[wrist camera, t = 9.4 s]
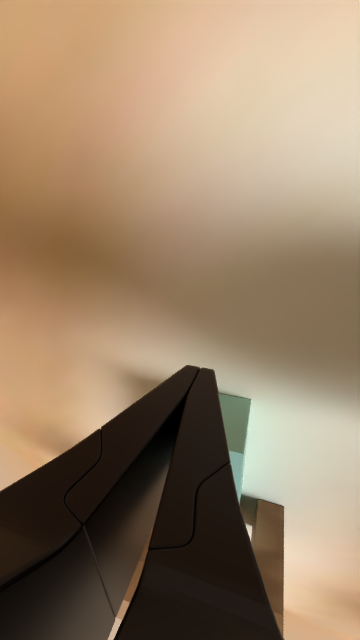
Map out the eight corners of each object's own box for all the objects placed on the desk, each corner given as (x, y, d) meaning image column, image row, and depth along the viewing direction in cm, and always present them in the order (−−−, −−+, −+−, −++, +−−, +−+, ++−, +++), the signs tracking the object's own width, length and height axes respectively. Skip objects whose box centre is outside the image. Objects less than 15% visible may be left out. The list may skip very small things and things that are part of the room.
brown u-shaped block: (283, 506, 21) (283, 668, 15) (275, 534, 23) (271, 687, 17) (153, 469, 24) (103, 591, 17) (156, 496, 26) (112, 615, 19)
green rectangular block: (251, 396, 18) (243, 454, 14) (239, 507, 23) (232, 566, 20) (186, 384, 19) (165, 435, 15) (191, 493, 25) (176, 547, 21)
